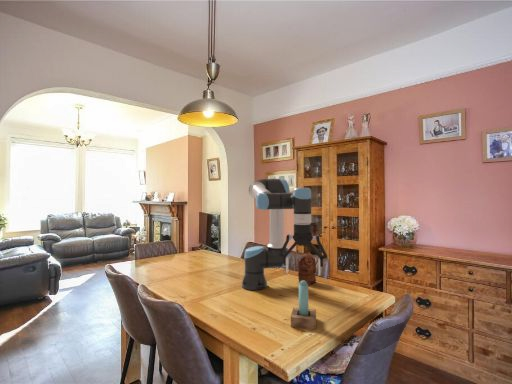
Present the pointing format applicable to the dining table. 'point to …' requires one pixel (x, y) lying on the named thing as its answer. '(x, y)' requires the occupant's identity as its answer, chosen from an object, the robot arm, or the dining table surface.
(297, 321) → the brown open box
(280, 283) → the dining table surface
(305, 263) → the wooden figurine
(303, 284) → the teal long bar
